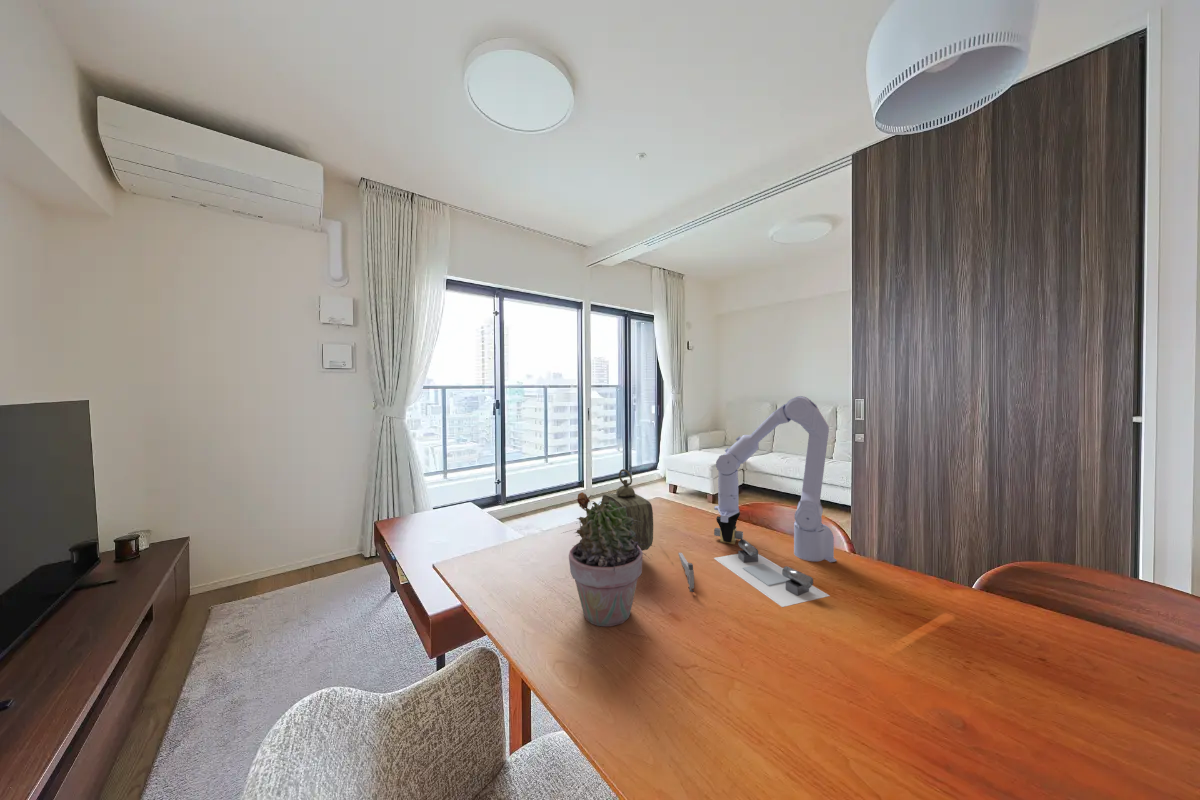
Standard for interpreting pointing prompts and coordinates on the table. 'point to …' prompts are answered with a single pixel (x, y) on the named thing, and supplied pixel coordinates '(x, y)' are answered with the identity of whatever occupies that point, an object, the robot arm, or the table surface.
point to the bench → (768, 580)
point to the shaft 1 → (747, 552)
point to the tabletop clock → (634, 511)
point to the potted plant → (605, 563)
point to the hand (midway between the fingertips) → (728, 538)
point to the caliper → (688, 571)
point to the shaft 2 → (797, 581)
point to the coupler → (735, 535)
